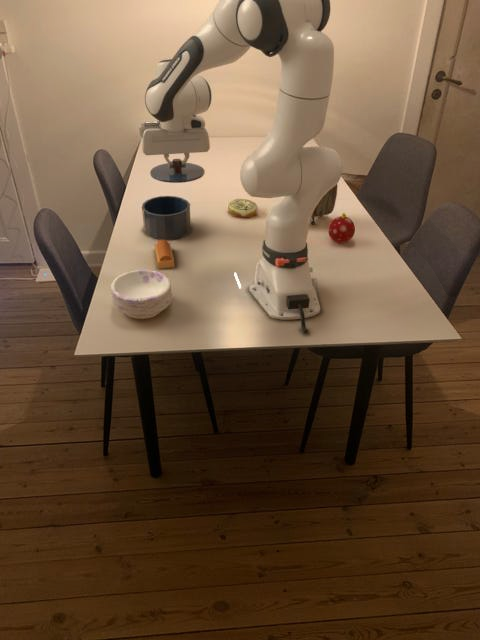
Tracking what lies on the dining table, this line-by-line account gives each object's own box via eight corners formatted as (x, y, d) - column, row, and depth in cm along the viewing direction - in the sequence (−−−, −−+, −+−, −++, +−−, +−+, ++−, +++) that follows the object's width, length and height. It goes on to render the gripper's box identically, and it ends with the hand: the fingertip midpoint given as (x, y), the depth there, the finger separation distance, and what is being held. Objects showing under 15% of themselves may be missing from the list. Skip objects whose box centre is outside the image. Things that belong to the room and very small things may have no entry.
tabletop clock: (323, 214, 177) (333, 145, 162) (334, 225, 170) (345, 154, 155) (286, 219, 173) (292, 149, 158) (296, 230, 166) (304, 158, 151)
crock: (194, 237, 161) (193, 213, 156) (145, 241, 158) (143, 217, 153) (187, 217, 173) (186, 194, 168) (142, 220, 170) (140, 197, 165)
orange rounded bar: (174, 267, 146) (173, 255, 143) (158, 268, 145) (157, 257, 142) (170, 249, 154) (169, 238, 152) (155, 250, 153) (154, 239, 151)
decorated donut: (246, 221, 171) (246, 211, 169) (222, 213, 176) (222, 204, 173) (262, 211, 178) (263, 202, 175) (238, 204, 183) (238, 194, 180)
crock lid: (208, 182, 146) (208, 167, 144) (152, 186, 143) (151, 170, 141) (200, 164, 160) (199, 150, 157) (148, 167, 156) (147, 153, 154)
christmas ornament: (333, 249, 157) (337, 220, 151) (322, 236, 163) (326, 209, 157) (357, 246, 159) (362, 217, 153) (345, 234, 165) (350, 206, 159)
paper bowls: (174, 292, 135) (172, 268, 130) (170, 326, 123) (168, 300, 118) (119, 292, 134) (115, 267, 129) (109, 326, 122) (104, 300, 117)
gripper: (139, 125, 137) (144, 173, 146) (210, 121, 141) (211, 168, 149) (137, 119, 142) (142, 166, 151) (206, 116, 146) (207, 162, 154)
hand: (177, 167), depth 150 cm, fingers closed on crock lid, 2 cm apart
